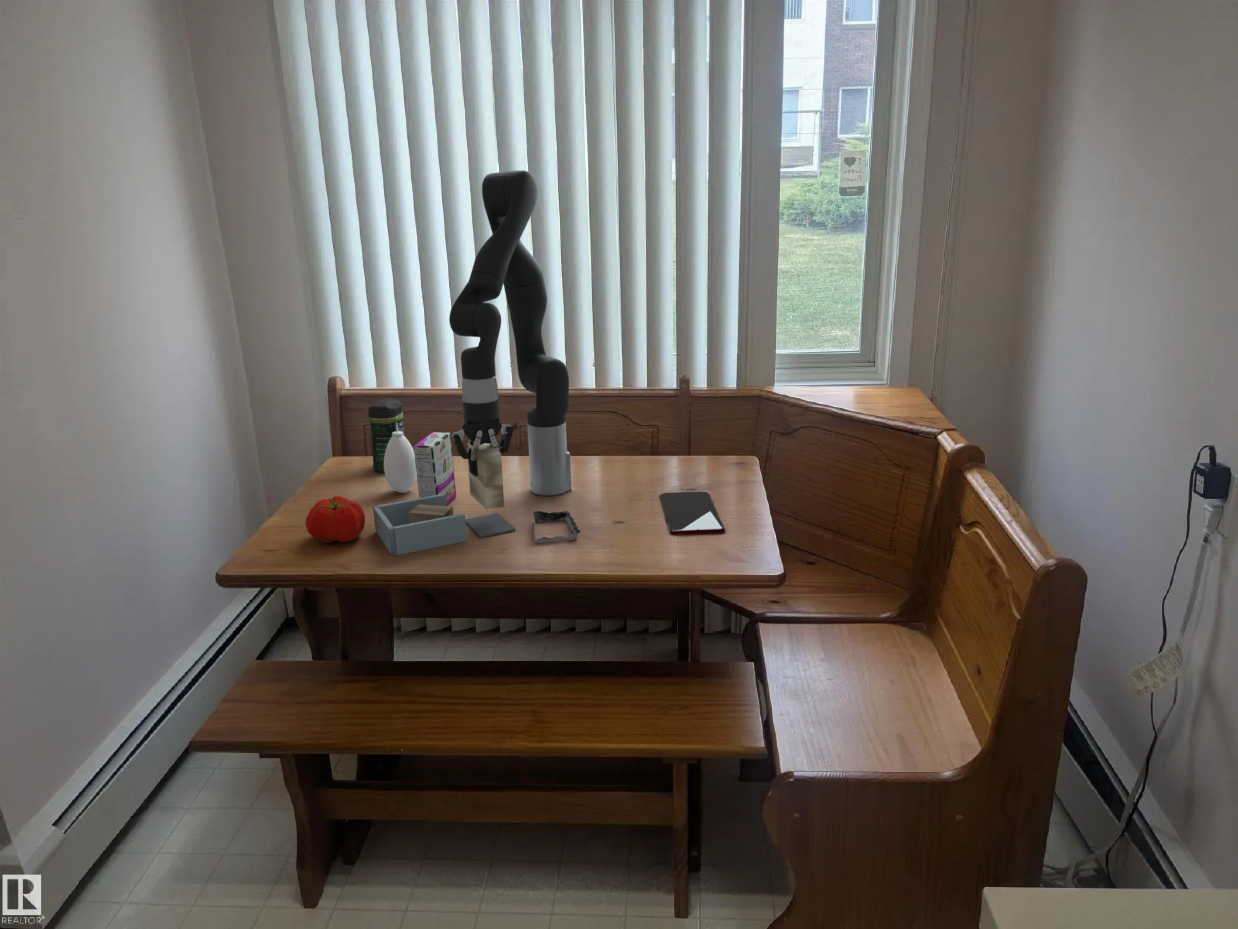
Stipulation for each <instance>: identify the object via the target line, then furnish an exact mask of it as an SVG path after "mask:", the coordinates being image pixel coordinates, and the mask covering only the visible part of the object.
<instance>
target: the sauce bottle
mask: <svg viewBox="0 0 1238 929" xmlns="http://www.w3.org/2000/svg"><path fill="white" fill-rule="evenodd" d="M384 472H385V473H384V475H385V478H386V481H387V483H388V485H389V486H390V488H392V489H393V490H395V492H397V493H400V494H405V493H407V492H409V491H410V490H411V489H412V488H413V487H414V486H415V485H416V481H417V472H416V464H415V454H414V447H413V445H411V442H410V441H409V440H408V439H407V437H406V436H405V435H404V436H403V432H401V431H398V425H397V422H396V431H395V432H393V433H392V437H391V439H390V440H389V442H388V445H387V448H386V451H385V456H384Z"/></svg>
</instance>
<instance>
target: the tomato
mask: <svg viewBox="0 0 1238 929" xmlns="http://www.w3.org/2000/svg"><path fill="white" fill-rule="evenodd" d="M365 523H366V515H365V511H364V509H363V507H362V506H361V504H360V503H358V502H357V501H354V500H350V499H348V498H346V497H344V496H339V495H337V496H336V495H335V496H333V497H328V498H322V499H319V500H318V501H317V502H316V503H315V504H314V505H313V506H312V507H311V508H310V510H309V512H308V514H307V516H306V518H305V523H304V524H305V527H306V531H307V533H309V535H310V536H311V537H313V538H314V539H316V540H319V541H321V542H326V543H333V542H335V541H337V542H340V543H347V542H351V541H354V540H355V539H356V538H357V537H358V536H359V535H360V534H361V533H362V532H363V530H364V528H365Z"/></svg>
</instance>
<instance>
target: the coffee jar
mask: <svg viewBox="0 0 1238 929" xmlns="http://www.w3.org/2000/svg"><path fill="white" fill-rule="evenodd" d="M367 414H368V416H367V417H368V420H369V426H370V435H371V446H372V448H371V450H372V451H371V452H372V466H373V470H374V471H375V472H379V473H382V474H385V472H384V456H385V451H386V448H387V445H388V442H389V440H390V439H391V437H392V433H393V432H395V431H396V422H397V425H398V431H401V432H403V436H405V429H404V410H403V403H402V401H400V400H399V399H398V398H383V399H382V400H380V401H379V400H378V401H377V402H376V403H374V404H372V405H370V406H369V407H368V408H367Z"/></svg>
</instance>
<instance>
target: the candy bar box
mask: <svg viewBox="0 0 1238 929" xmlns="http://www.w3.org/2000/svg"><path fill="white" fill-rule="evenodd" d="M412 448H413V450H414V454H415V464H416V472H417V480H416V481H417V488H418V496H419V497H418V498H423V497H428V496H434V495H439V494H445V496H446V506H448V505H449V504H450V503H451V502H452V501H453V500H454V499H455V498H456V497H457V489H456V488H457V487H456V480H455V468H454V458H453V450H452V437H451V432H442V431H439V432H438V431H433V432H431V433H429V434H428V435H427V436H426V437H424V438H423V439H422V440H420V441H419V442H417V443H416V444H414V445H412Z"/></svg>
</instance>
